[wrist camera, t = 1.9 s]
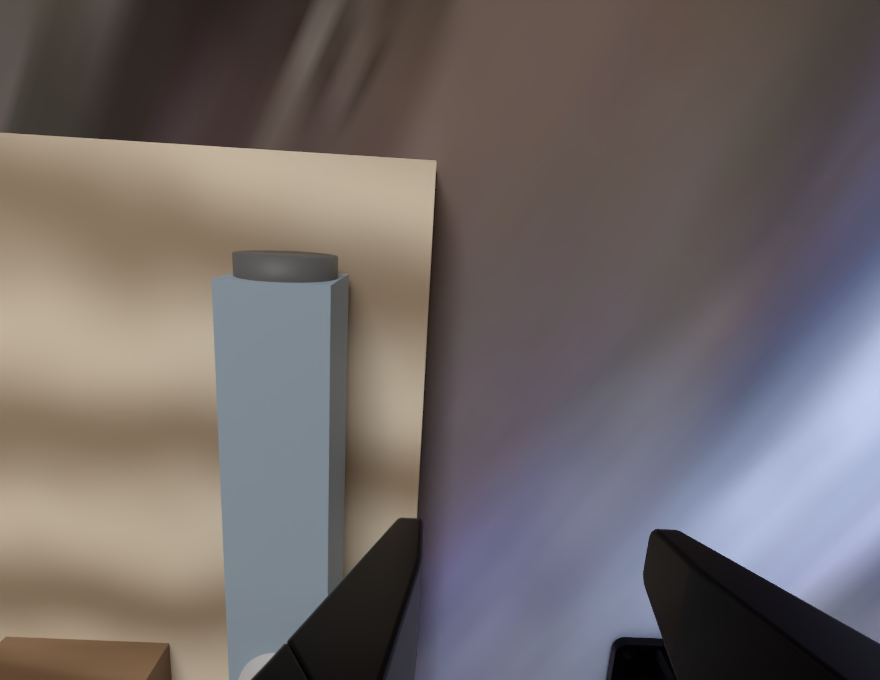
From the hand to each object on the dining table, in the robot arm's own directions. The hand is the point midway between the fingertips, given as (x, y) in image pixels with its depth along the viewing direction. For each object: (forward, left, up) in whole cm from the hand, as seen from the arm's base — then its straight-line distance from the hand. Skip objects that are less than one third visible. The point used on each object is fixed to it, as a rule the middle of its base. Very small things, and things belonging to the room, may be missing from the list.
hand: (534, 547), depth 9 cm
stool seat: (-3, +12, -11) cm, 17 cm away
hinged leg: (-3, +6, -8) cm, 11 cm away
